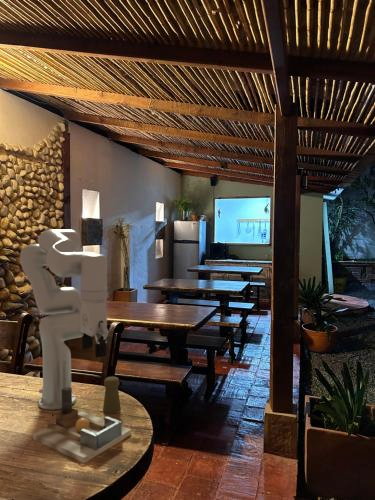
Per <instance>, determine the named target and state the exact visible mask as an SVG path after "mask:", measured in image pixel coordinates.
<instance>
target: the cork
mask: <svg viewBox="0 0 375 500" xmlns="http://www.w3.org/2000/svg"><path fill="white" fill-rule="evenodd" d="M103 386H104V388H105V389H104V390H105V391H104V398H103V399H104V400H103V408H102V412H103V413H105V414H116V413H118V412H120V411H121V410H122V407H121V401H120V395H119V393H120V392H119V386H120V379H119V378H118V377H117V376H108V377H106V378H105V379H104V381H103Z"/></svg>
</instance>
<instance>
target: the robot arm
mask: <svg viewBox="0 0 375 500" xmlns="http://www.w3.org/2000/svg"><path fill="white" fill-rule="evenodd" d="M37 241H38V242H37V243H31V244H28V245H25V246H24V247H22V249H21V251H20V253H19V255H20V256H19V259H20V265H21V268H22V271H23V273H24V276H26V278H27V280H28V281H29V283H30V285H31V289H32V292H33V296H34V297H33V298H34V300H35V304H36V306H37V309H38V311H39V313H41V314H42V315H46V316H44V317H43V318H42V319H41V320H40V321H39V325H38V327H39V329H38V330H39V335H40V341H41V349H42V350H41V351H42V387H41V388H40V389H39V390H38V392H39V393H40V394H41V398H39V400H38V406H39V407H40V409H43V410H46V411H47V410H50V411H54V410H62V392H61V390H62V389H63V388H66V387H70V388H72V357H71V356H72V354H71V350H70V348H69V346H67V345H66V343H65V341H68V340H73V339H77V338H81V349H82V350H87V349H90V348H93V341H94V340H93V337H94V338H95V342H96V343H95V344H94V345H95V346H94V352H95V353H94V356H95V358H98V359H99V358H103V357H106V356H107V343H108V338H109V337H108V335H109V329H108V318H107V317H108V316H107V314H108V313H107V305H106V304H107V303H106V301H107V299H108V296H107V295H108V286H107V285H108V258H107V256H106V255H105V254H103V253H101V254H100V253H96V252H93V251H79V250H80V248H81V243H82V241H81V237H80V234H79V232H77V231H76V230H74V229H59V228H58V229H46V230H44V231H42V232H41V233H40V234H39V235H38V240H37ZM45 266H46V267H48V268H49V270H50V271H51V273H50V271H48V270H47V269H45V268H44V267H45ZM52 273H53V274H54V275H56V277H57V276H58V277H59V278H74V277H76V278H77V277H80V291H79V290H78V289H77V288H76V287H74V286H64V287H59V286H58V285H57V283H56V282H57V281H56V279H55V277H54V275H52ZM76 399H77V396H76V395H75V394H74V393H72V405H73V404H75V402H76V401H77V400H76Z"/></svg>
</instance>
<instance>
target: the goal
mask: <svg viewBox="0 0 375 500" xmlns="http://www.w3.org/2000/svg"><path fill="white" fill-rule="evenodd" d="M103 418H104V429H103V430H101V431H99V432H98V433H96V434H95V433H93V432H90V431H88V430H86V429H81V430H80V436H81V445H84V446H86V447H88V448H90V449H93V450H95V451H96V450H98V449H99V448H101V447H103V446H104V445H106V444H108V443H109V442H111V441H113V440H114V439H116V438H118V437H119V436H121V435H122V421H121V420H118V419H116V418H113V417H110V416H105V417H103Z"/></svg>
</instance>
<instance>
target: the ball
mask: <svg viewBox="0 0 375 500" xmlns="http://www.w3.org/2000/svg"><path fill="white" fill-rule="evenodd" d="M75 427H76V430H77V431H78V432H80V430H81V429H86V430H88V428H89V421H88V419H86V418H80V419H78V420H77V422H76V425H75Z"/></svg>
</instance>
